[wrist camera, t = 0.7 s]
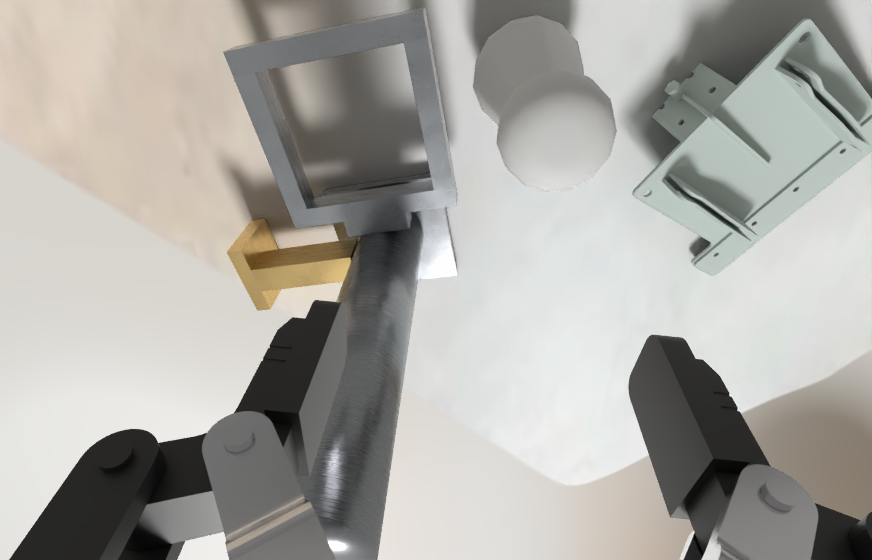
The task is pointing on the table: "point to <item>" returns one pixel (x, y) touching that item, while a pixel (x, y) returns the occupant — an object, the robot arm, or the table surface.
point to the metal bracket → (757, 144)
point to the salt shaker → (543, 104)
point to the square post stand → (353, 264)
